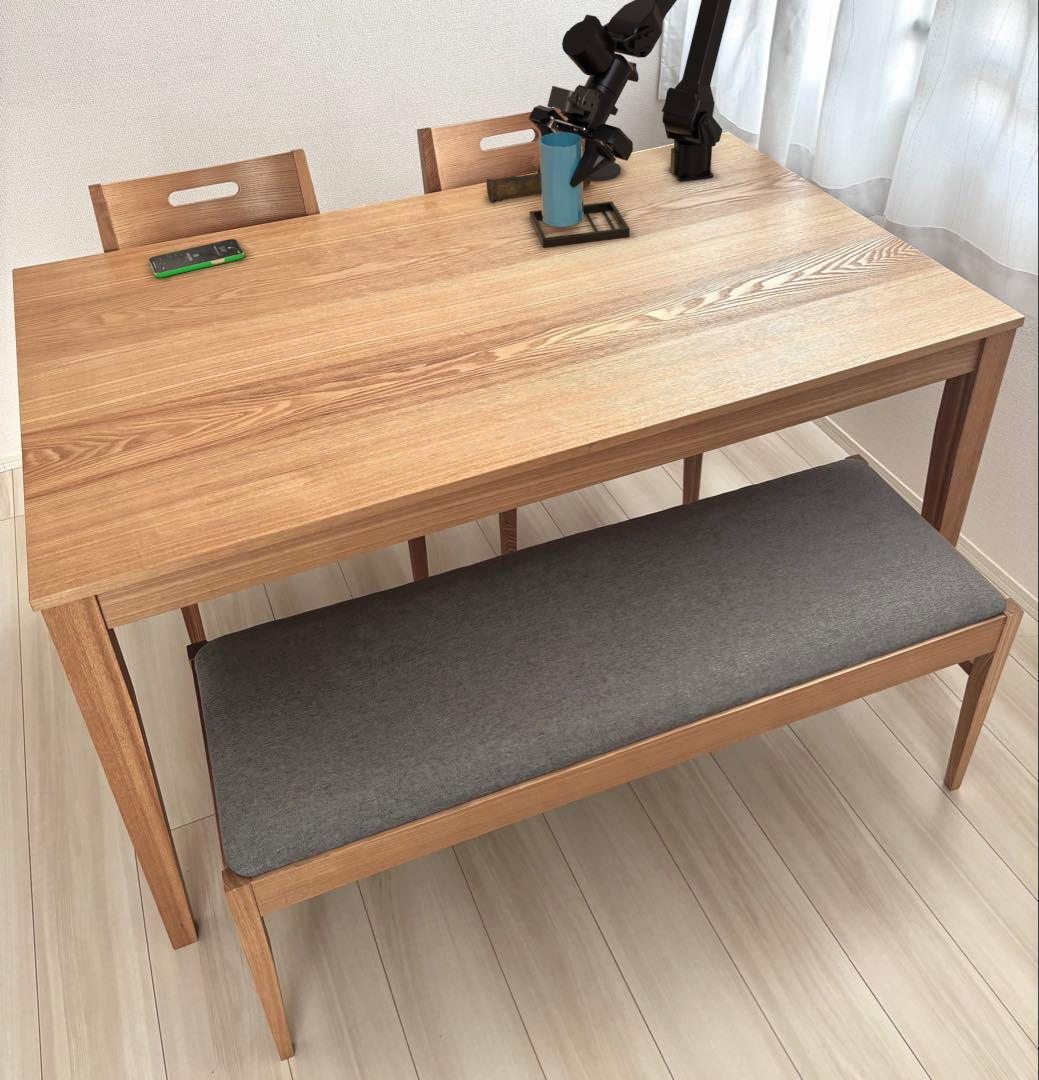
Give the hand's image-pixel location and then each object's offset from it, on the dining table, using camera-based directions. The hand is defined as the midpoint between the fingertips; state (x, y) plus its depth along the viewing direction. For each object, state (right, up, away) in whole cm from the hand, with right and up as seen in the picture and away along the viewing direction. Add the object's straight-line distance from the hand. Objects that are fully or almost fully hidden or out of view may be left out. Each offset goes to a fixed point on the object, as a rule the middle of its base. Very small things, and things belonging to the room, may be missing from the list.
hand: (555, 180), depth 169 cm
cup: (+1, -5, +5) cm, 7 cm away
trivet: (+9, +11, +27) cm, 30 cm away
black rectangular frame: (+4, -5, +8) cm, 11 cm away
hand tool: (-2, +5, +21) cm, 22 cm away
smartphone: (-60, -11, +6) cm, 61 cm away
